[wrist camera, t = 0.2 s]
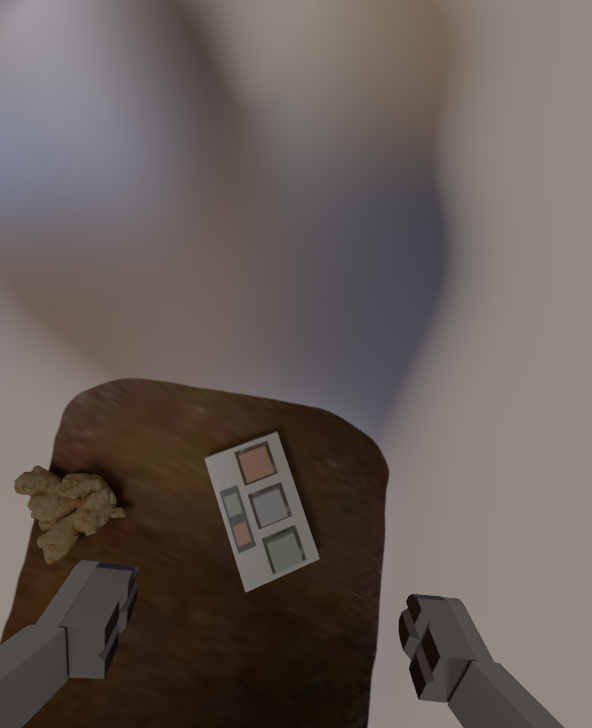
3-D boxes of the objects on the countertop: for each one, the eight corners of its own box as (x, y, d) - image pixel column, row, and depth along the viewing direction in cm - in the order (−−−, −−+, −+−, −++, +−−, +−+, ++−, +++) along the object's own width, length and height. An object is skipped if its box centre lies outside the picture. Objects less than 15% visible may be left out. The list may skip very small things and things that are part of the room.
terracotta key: (273, 470, 58) (273, 472, 57) (247, 480, 58) (247, 482, 56) (264, 444, 59) (264, 445, 57) (239, 454, 58) (238, 455, 56)
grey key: (286, 512, 58) (288, 516, 56) (261, 523, 57) (261, 527, 55) (278, 486, 58) (279, 488, 56) (252, 496, 57) (252, 499, 55)
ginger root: (133, 540, 55) (100, 561, 47) (51, 551, 56) (5, 574, 49) (127, 450, 58) (95, 456, 50) (49, 463, 59) (6, 470, 51)
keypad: (316, 550, 60) (320, 559, 56) (246, 581, 58) (245, 593, 54) (275, 431, 63) (277, 432, 59) (207, 456, 60) (204, 458, 56)
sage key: (301, 556, 57) (302, 561, 55) (275, 567, 56) (276, 573, 54) (292, 528, 57) (293, 532, 55) (266, 539, 56) (266, 544, 54)
